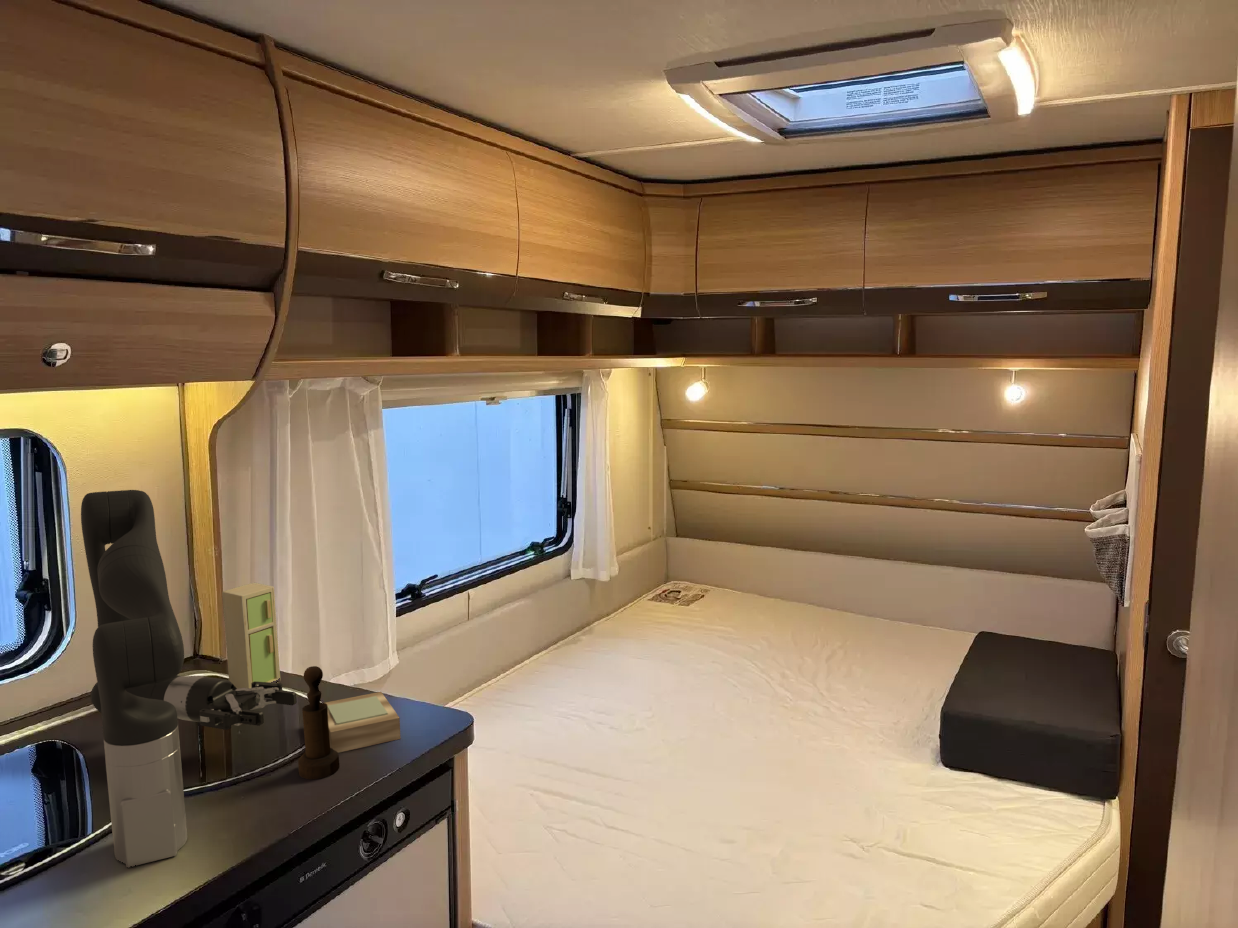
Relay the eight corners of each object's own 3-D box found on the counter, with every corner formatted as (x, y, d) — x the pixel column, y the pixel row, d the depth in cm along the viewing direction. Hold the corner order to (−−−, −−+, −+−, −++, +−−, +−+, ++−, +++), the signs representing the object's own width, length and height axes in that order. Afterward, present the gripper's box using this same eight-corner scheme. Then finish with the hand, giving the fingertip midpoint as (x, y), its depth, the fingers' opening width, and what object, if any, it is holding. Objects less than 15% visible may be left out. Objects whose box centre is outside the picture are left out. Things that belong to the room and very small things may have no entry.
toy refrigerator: (250, 695, 180) (243, 595, 177) (228, 688, 184) (220, 590, 181) (283, 682, 187) (277, 586, 184) (261, 676, 190) (254, 581, 188)
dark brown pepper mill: (291, 770, 147) (284, 667, 145) (327, 757, 152) (321, 657, 150) (310, 783, 143) (303, 677, 140) (346, 769, 147) (340, 666, 145)
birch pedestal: (400, 738, 159) (399, 716, 158) (332, 753, 153) (330, 730, 153) (382, 711, 171) (381, 690, 170) (317, 724, 165) (316, 702, 165)
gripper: (166, 693, 145) (248, 703, 141) (227, 664, 159) (304, 672, 154) (170, 736, 146) (252, 747, 142) (230, 703, 160) (306, 712, 155)
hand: (279, 708), depth 148 cm, fingers open, 8 cm apart
